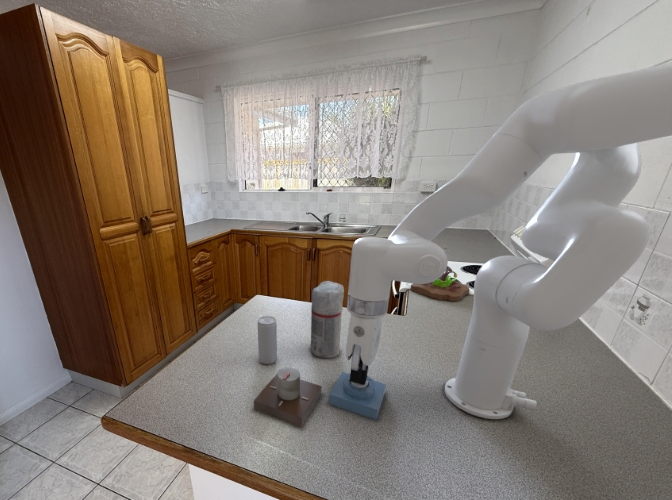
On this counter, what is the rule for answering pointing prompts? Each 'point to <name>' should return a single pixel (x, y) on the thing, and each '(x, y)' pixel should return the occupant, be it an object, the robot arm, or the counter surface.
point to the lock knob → (288, 383)
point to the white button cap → (359, 385)
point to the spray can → (326, 319)
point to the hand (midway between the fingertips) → (358, 381)
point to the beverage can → (267, 339)
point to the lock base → (288, 402)
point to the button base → (358, 396)
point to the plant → (443, 288)
